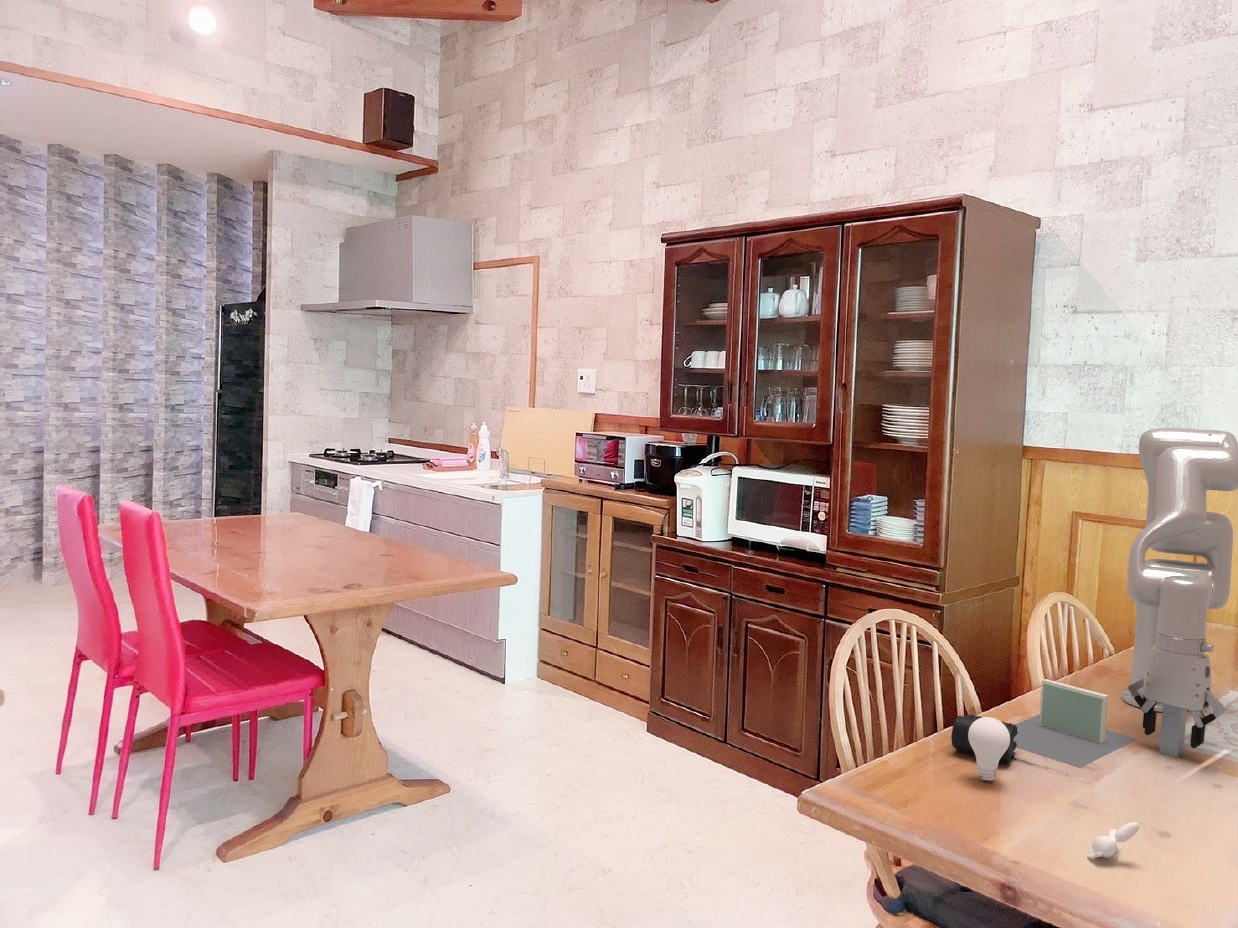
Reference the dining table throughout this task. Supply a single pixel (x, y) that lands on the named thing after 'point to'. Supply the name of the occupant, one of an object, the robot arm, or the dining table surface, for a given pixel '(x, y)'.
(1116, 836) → the rabbit figurine
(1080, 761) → the mat
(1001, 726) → the light bulb
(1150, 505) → the robot arm
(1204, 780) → the dining table surface
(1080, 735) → the tile
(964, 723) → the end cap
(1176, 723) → the metal bar
